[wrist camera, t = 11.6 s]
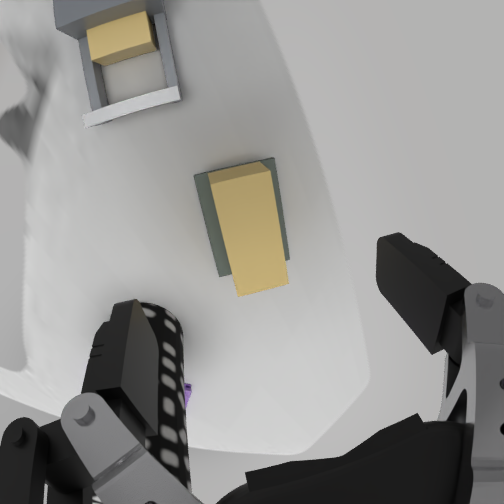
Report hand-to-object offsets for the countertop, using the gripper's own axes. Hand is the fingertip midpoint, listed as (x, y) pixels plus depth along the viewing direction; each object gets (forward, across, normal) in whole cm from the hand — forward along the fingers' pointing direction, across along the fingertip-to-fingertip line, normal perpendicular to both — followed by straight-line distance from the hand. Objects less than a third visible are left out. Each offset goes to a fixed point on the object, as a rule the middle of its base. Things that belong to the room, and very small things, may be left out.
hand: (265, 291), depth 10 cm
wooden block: (+18, -2, +6) cm, 19 cm away
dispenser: (+20, +5, -12) cm, 24 cm away
